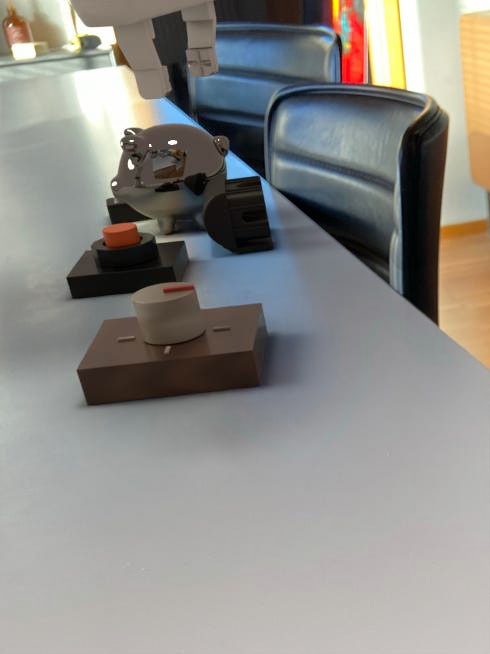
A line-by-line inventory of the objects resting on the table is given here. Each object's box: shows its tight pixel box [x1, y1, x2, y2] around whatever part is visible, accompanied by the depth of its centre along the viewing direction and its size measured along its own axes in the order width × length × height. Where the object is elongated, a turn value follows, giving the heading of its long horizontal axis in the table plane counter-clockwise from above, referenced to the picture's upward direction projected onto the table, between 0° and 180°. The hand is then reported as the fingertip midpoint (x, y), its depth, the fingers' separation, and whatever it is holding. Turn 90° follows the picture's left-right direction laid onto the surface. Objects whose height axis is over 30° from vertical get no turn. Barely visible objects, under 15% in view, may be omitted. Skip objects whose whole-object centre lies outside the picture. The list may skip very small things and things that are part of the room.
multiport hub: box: [105, 196, 153, 225], centre depth 133 cm, size 4×11×2 cm, turn 108°
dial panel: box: [75, 302, 269, 406], centre depth 87 cm, size 14×12×3 cm
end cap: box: [203, 173, 274, 254], centre depth 117 cm, size 10×7×7 cm
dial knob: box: [131, 281, 205, 345], centre depth 85 cm, size 5×5×4 cm
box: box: [65, 231, 190, 299], centre depth 109 cm, size 11×10×4 cm
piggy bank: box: [110, 122, 230, 235], centre depth 124 cm, size 11×15×12 cm
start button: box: [101, 222, 141, 247], centre depth 108 cm, size 4×4×2 cm
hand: (182, 86), depth 73 cm, fingers open, 8 cm apart
